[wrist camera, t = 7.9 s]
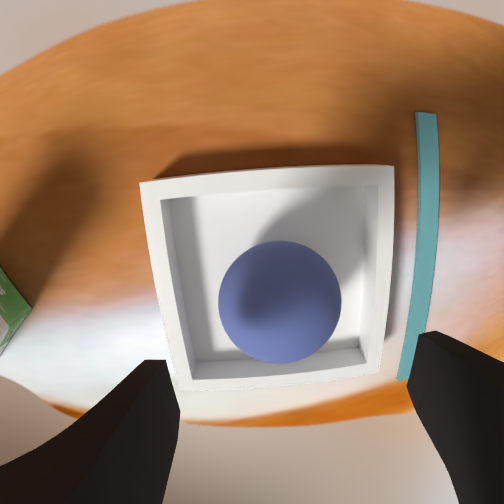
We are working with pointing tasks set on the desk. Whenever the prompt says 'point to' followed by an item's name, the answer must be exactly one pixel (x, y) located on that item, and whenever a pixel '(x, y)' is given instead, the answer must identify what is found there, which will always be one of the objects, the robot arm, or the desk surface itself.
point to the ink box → (10, 310)
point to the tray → (260, 231)
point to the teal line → (423, 236)
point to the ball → (279, 302)
